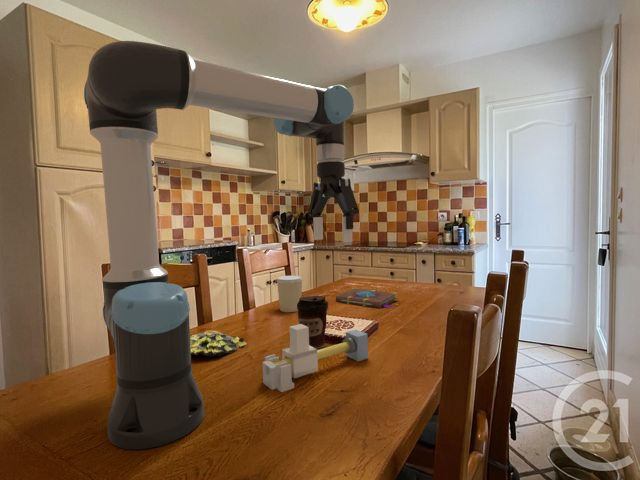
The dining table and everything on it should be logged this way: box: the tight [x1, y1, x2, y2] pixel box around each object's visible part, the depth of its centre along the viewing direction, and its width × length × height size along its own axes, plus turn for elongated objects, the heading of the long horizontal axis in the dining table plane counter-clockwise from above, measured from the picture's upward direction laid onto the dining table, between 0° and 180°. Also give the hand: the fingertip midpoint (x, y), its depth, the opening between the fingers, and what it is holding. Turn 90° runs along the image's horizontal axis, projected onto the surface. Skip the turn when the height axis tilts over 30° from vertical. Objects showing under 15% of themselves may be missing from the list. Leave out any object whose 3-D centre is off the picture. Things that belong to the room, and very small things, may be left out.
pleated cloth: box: [190, 329, 248, 358], centre depth 99 cm, size 20×16×6 cm
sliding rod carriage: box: [281, 323, 319, 379], centre depth 79 cm, size 6×5×10 cm
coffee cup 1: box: [276, 275, 303, 313], centre depth 135 cm, size 9×9×12 cm
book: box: [335, 287, 399, 309], centre depth 144 cm, size 16×25×5 cm, turn 52°
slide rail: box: [262, 329, 369, 393], centre depth 82 cm, size 26×8×6 cm, turn 125°
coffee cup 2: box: [297, 295, 329, 349], centre depth 97 cm, size 9×8×13 cm
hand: (332, 241), depth 100 cm, fingers open, 13 cm apart
